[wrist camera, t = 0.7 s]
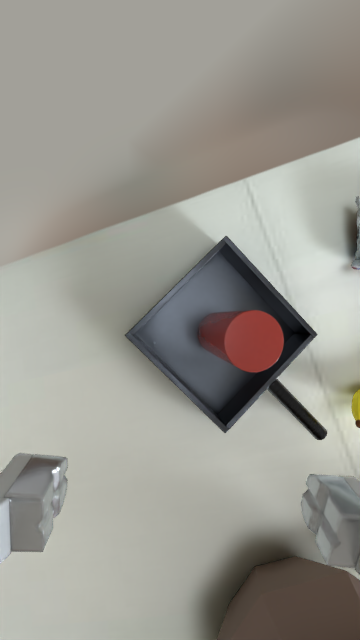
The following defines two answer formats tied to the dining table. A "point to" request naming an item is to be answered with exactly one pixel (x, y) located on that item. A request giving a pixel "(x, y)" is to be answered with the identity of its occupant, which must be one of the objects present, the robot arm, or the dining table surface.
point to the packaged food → (359, 261)
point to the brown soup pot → (294, 603)
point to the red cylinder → (242, 338)
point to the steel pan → (204, 367)
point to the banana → (356, 407)
